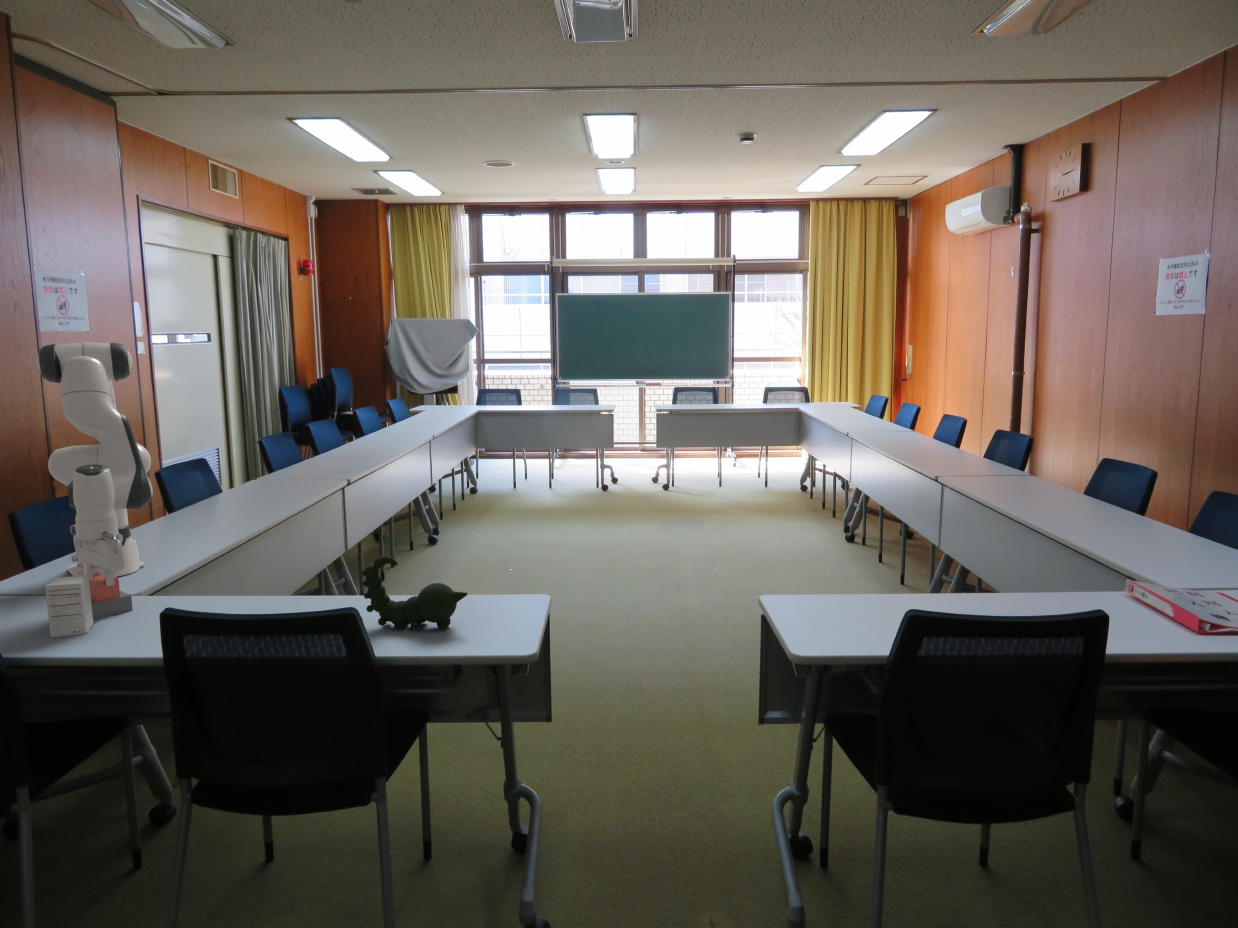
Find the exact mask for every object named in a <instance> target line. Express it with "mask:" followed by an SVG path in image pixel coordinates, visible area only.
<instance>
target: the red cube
mask: <svg viewBox="0 0 1238 928" xmlns="http://www.w3.org/2000/svg"><path fill="white" fill-rule="evenodd" d="M104 579H105V575H101V576H96V577H91V578H89V587H90V597H91V600H93V601H95V602H100V601H104V600H108V599H113V598H117V597H120V591H121V589H120V581H119V576H115V577H114V585H111V586H107V585H105V584H104Z"/></svg>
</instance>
